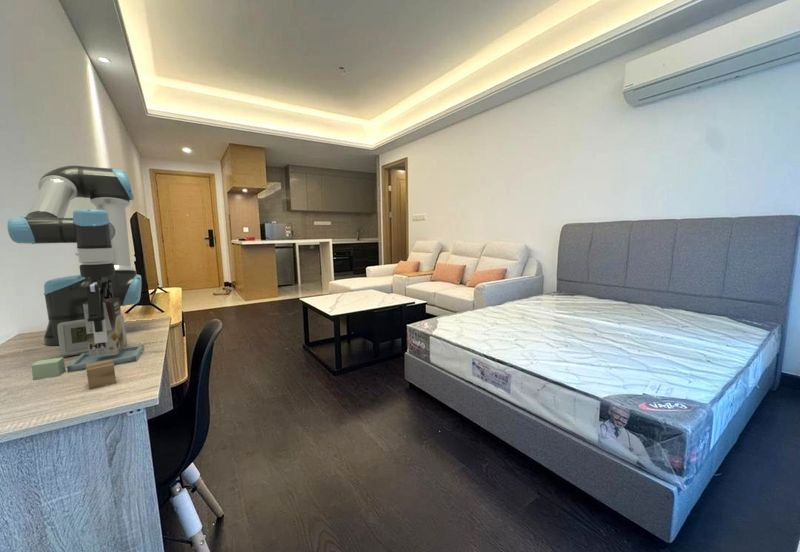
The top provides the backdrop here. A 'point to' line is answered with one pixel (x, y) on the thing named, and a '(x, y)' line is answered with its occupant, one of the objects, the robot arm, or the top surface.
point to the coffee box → (113, 330)
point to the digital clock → (76, 337)
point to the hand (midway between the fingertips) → (106, 337)
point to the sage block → (48, 368)
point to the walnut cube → (100, 374)
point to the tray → (107, 358)
